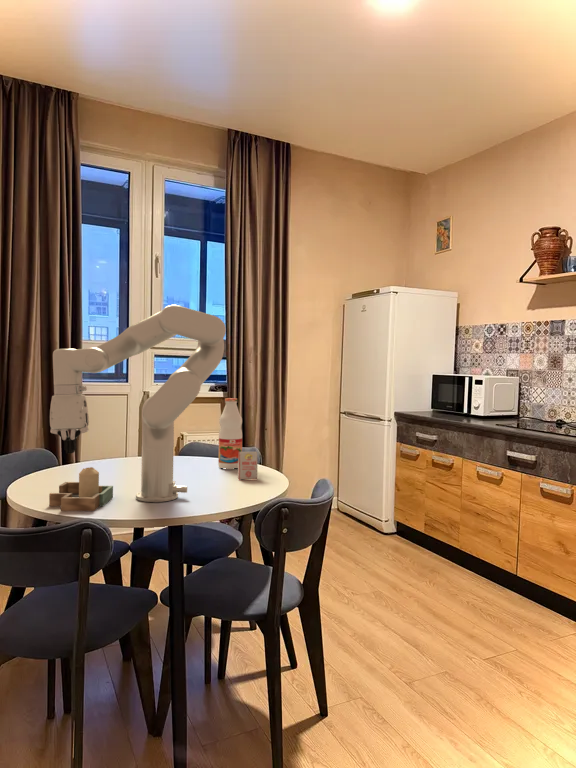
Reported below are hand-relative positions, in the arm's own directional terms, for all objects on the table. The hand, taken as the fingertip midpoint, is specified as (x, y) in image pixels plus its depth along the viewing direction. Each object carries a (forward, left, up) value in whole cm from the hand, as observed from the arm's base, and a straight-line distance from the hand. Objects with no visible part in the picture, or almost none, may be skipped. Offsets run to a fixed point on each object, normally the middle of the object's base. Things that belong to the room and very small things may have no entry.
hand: (70, 452), depth 160 cm
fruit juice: (-45, -56, -15) cm, 73 cm away
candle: (-5, 0, -15) cm, 16 cm away
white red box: (-52, -34, -15) cm, 64 cm away
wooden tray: (-4, 0, -14) cm, 15 cm away
